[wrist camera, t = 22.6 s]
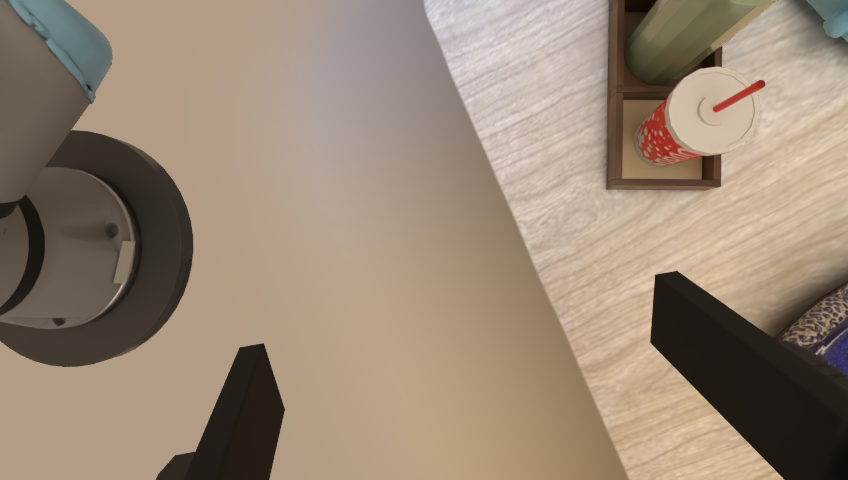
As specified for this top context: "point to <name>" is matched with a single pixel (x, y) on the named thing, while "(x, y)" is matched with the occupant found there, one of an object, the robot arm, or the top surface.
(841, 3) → the teapot
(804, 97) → the top surface
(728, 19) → the cup
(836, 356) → the dish
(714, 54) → the cup rack
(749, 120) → the beverage cup
